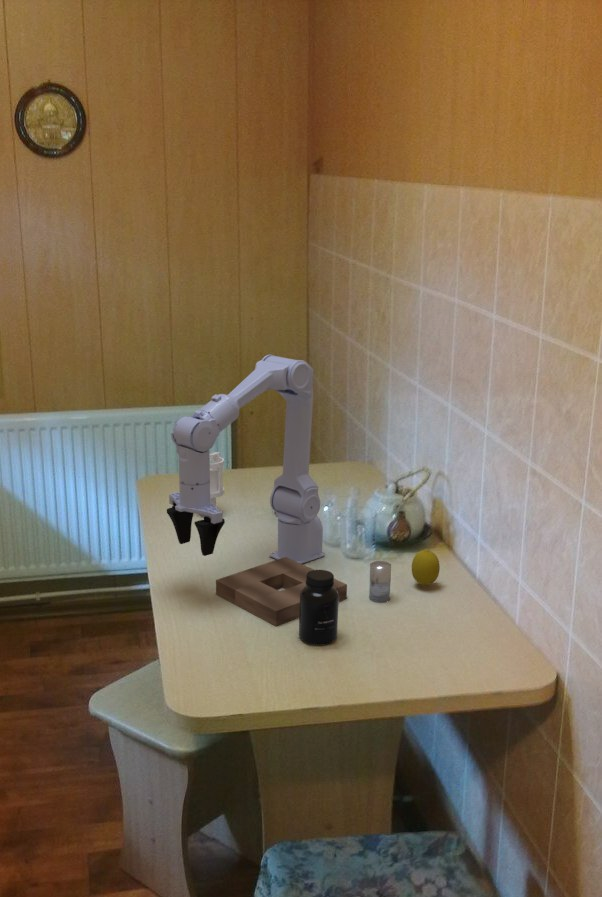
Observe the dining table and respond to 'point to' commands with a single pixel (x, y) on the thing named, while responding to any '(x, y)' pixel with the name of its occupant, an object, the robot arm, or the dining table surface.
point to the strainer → (216, 477)
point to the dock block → (270, 589)
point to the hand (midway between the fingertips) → (195, 548)
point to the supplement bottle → (318, 608)
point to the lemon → (425, 567)
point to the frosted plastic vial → (380, 581)
